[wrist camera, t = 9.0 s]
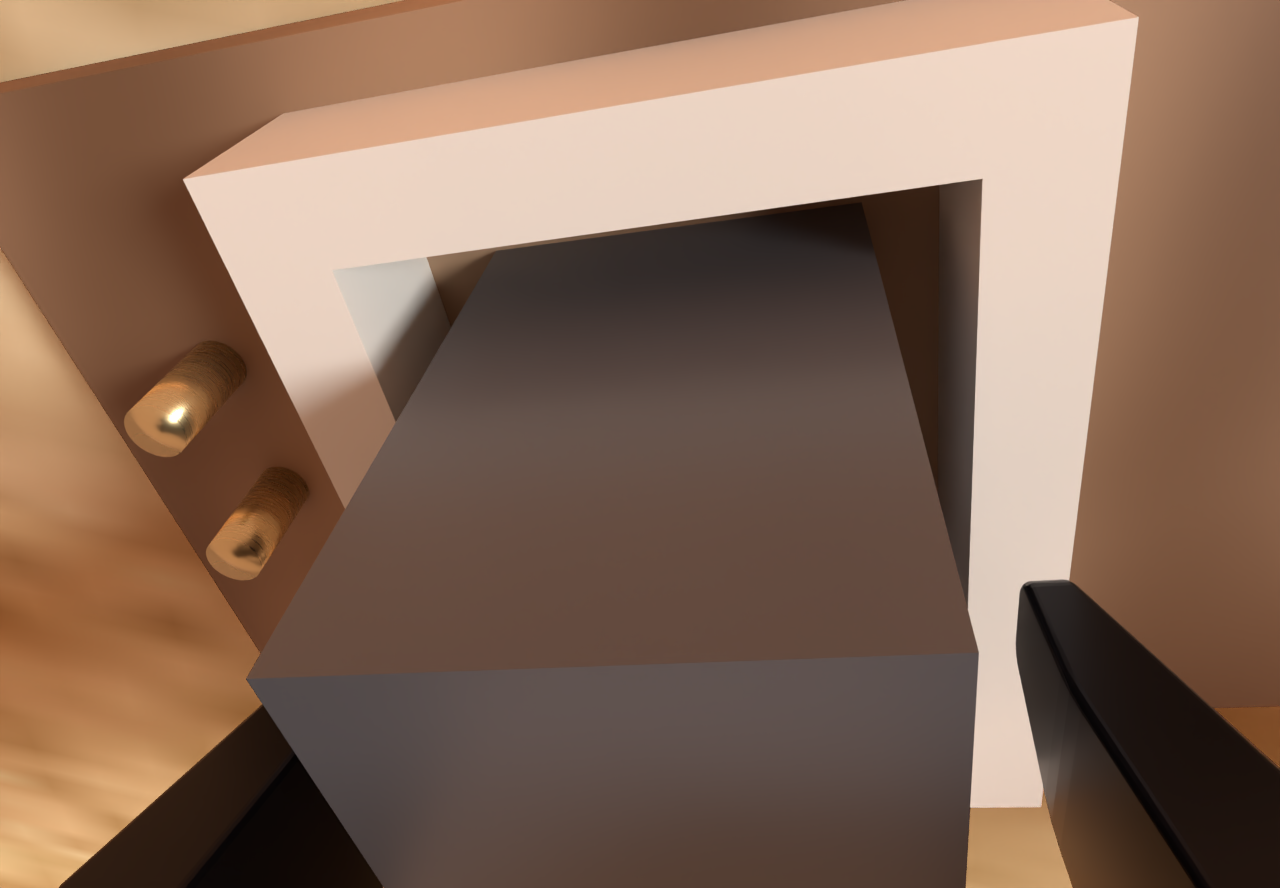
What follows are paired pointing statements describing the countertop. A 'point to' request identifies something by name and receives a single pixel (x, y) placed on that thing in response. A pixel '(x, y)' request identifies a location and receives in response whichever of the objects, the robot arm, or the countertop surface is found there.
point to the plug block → (647, 585)
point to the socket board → (701, 193)
